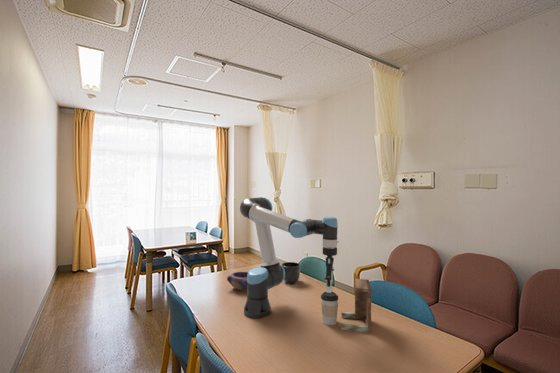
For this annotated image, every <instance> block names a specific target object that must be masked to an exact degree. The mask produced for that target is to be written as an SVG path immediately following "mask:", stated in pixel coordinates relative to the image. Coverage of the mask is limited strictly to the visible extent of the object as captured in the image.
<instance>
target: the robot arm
mask: <svg viewBox="0 0 560 373" xmlns="http://www.w3.org/2000/svg"><path fill="white" fill-rule="evenodd" d="M239 211H240V215H242V216H243V217H244V218H247V219H248V220H251V221H252V222H253V223H254V225H255V229H256V230H255V231H256V235H257V240H258V245H259V246H258V247H259V250H260V251H259V252H260V256H261V261H262V262H261V264H260V267H254V268H251V269H250V270H248V271H247V272H248V274H247V290H246V301H245V304H244V306H243V314H244V315H245V316H246V317H248V318H252V319H259V318H260V319H261V318H262V319H263V318H265V317H267V316H269V315H270V314H271V313H272V306H271V303H270V299H269V290H270V289H273V288H274V287H277V286H279V285H280V284H281V283H283V282H284V278H285V270H284V268H283V267H282V266H281V265H282V264H280V261H279V260H278V259H277V257H276V256H277V255H276V252H275V246H274V240H273V235H272V230H271V227H273V228H277V229H279V230H281V231H284V232H287V233H289V234H290V235H291V237H293V238H295V239H300V238H304V237H306V236H310V235H314V234H315V235H320V236H321V235H322V246H323V247H322V255H324V256H326V257H325V268H326V272H325V277H324V280H325V292H327V293H331V291H332V288H333V287H332V284H333V278H334V276H333V273H334V271H335V269H334V257H336V256H337V255H338V248H337V247H338V243H339V241H338V227H339V226H338V219H337V217H334V216H324V217H322V220H320V219H311V218H309V219H308V218H305V219H303V220H302V221H301V220H298V219H295V218H293V217H290V216H287V215H284V214H281V213H279V212H276V211H273V204H272V202H271V201H270V199H268V198H267V197H261V196H260V197H259V196H258V197H247V198H244V200H242V201H241V203H240V206H239Z"/></svg>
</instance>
